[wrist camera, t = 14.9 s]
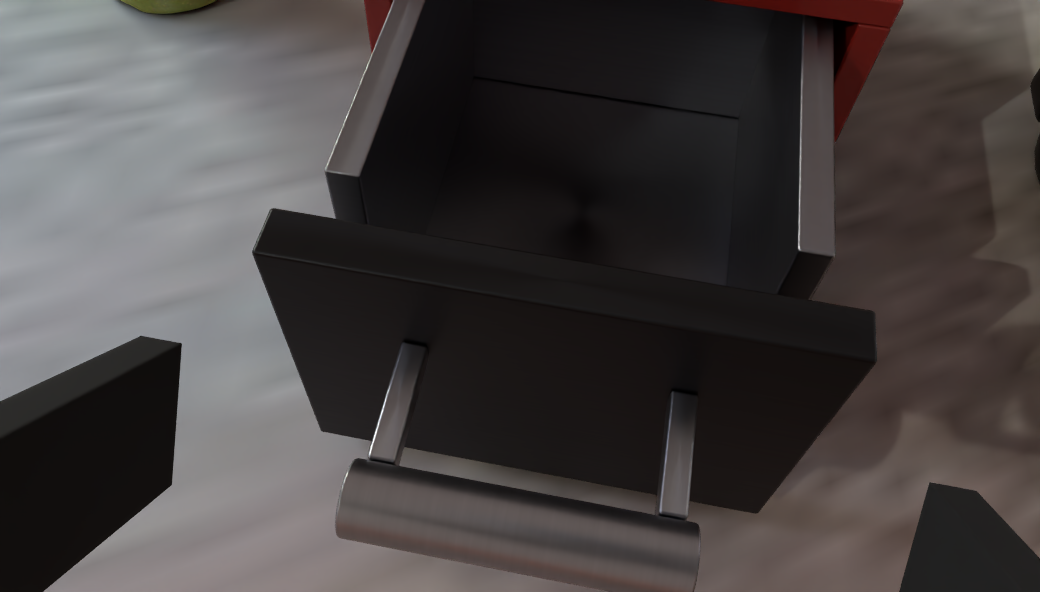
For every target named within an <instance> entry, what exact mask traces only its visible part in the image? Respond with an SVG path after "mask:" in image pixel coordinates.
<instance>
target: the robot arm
mask: <svg viewBox="0 0 1040 592" xmlns="http://www.w3.org/2000/svg"><path fill="white" fill-rule="evenodd" d="M181 347H182V343H176V342H171V341H166V340H160V339H155V338H149V337H144V336H140V337H138V338H136V339H134V340H131V341H129V342H127V343H125V344H123V345H121V346H119V347H116V348H114V349H112V350H110V351H108V352H106V353H103V354H101V355H99V356H97V357H95V358H93V359H91V360H88V361H86V362H84V363H82V364H80V365H78V366H76V367H73V368H71V369H69V370H67V371H65V372H63V373H60V374H58V375H56V376H54V377H52V378H50V379H48V380H45V381H43V382H41V383H39V384H37V385H35V386H33V387H30V388H28V389H26V390H24V391H22V392H20V393H18V394H15V395H13V396H11V397H9V398H7V399H5V400H2V401H0V592H43V591H44V590H45V589H47V588H48V587H49V586H50V585H51V584H53V583H54V582H55V581H56V580H58V579H59V578H60V577H61V576H62V575H64V574H65V573H66V572H67V571H68V570H70V569H71V568H72V567H73V566H74V565H76V564H77V563H78V562H79V561H80V560H82V559H83V558H84V557H85V556H86V555H88V554H89V553H90V552H91V551H93V550H94V549H95V548H96V547H97V546H99V545H100V544H101V543H102V542H103V541H105V540H106V539H107V538H108V537H109V536H111V535H112V534H113V533H114V532H115V531H117V530H118V529H119V528H120V527H122V526H123V525H124V524H125V523H126V522H128V521H129V520H130V519H131V518H132V517H134V516H135V515H136V514H137V513H138V512H140V511H141V510H142V509H143V508H144V507H146V506H147V505H148V504H149V503H151V502H152V501H153V500H154V499H155V498H157V497H158V496H159V495H160V494H161V493H163V492H164V491H165V490H166V489H167V488H169V487H170V486H171V485H172V475H173V460H174V446H175V432H176V418H177V404H178V390H179V376H180V361H181ZM899 592H1040V558H1039V557H1038V556H1037V555H1036V554H1035V553H1034V552H1033V551H1032V550H1031V549H1030V548H1029V547H1028V545H1027V544H1026V543H1025V542H1024V541H1023V540H1022V539H1021V538H1020V537H1019V536H1018V535H1017V534H1016V533H1015V532H1014V531H1013V529H1012V528H1011V527H1010V526H1009V525H1008V524H1007V523H1006V522H1005V521H1004V520H1003V519H1002V518H1001V517H1000V516H999V515H998V513H997V512H996V511H995V510H994V509H993V508H992V507H991V506H990V505H989V504H988V503H987V502H986V501H985V500H984V499H983V497H982V496H981V495H980V494H979V493H978V492H977V491H974V490H969V489H963V488H958V487H953V486H947V485H942V484H936V483H931V482H929V486H928V490H927V493H926V497H925V500H924V504H923V508H922V511H921V515H920V518H919V522H918V526H917V529H916V533H915V537H914V540H913V544H912V547H911V551H910V555H909V558H908V562H907V565H906V569H905V573H904V576H903V580H902V583H901V587H900V591H899Z"/></svg>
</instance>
